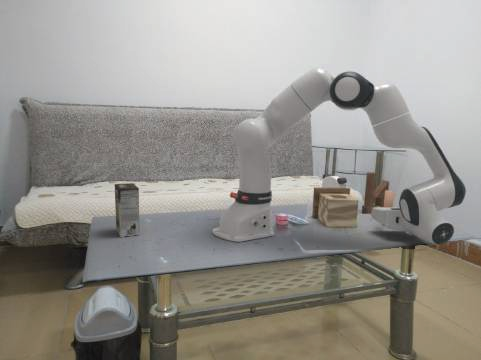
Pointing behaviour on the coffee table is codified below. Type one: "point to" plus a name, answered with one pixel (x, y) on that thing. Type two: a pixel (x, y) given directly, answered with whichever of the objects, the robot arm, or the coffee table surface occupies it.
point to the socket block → (338, 210)
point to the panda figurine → (333, 181)
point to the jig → (325, 191)
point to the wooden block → (374, 193)
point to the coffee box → (127, 209)
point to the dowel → (388, 199)
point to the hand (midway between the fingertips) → (390, 208)
